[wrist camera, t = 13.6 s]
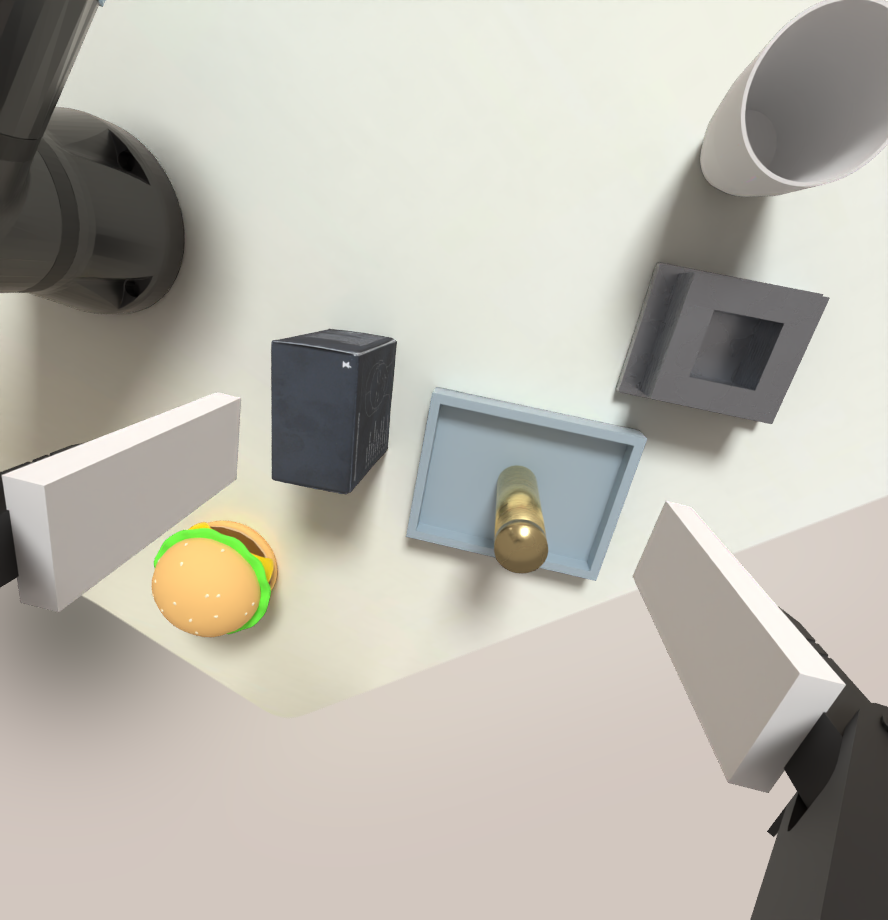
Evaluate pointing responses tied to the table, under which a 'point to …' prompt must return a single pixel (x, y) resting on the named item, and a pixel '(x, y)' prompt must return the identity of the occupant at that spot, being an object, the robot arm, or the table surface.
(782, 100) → the cup
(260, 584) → the hamburger
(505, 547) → the pin
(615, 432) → the tray
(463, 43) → the table surface
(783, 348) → the block
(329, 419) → the box
